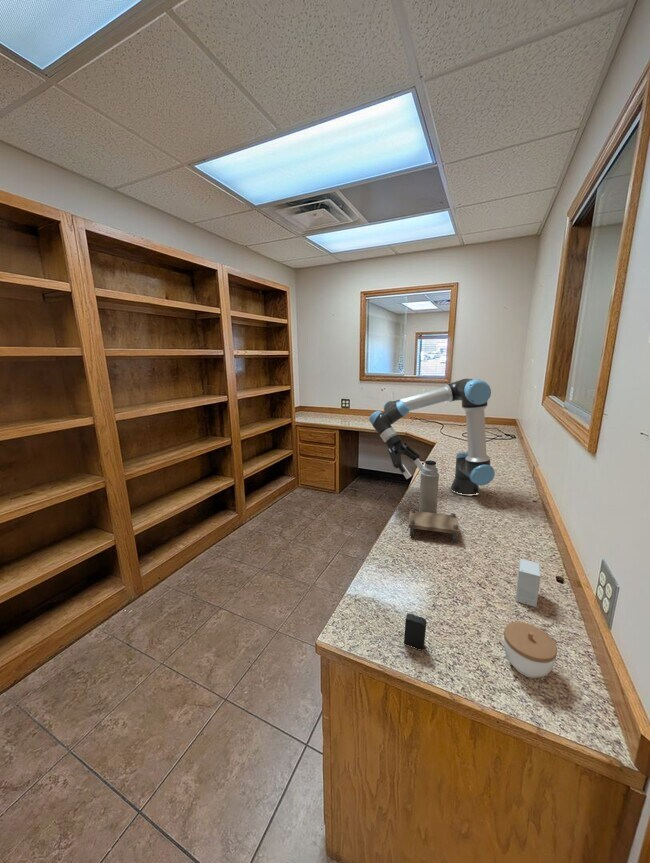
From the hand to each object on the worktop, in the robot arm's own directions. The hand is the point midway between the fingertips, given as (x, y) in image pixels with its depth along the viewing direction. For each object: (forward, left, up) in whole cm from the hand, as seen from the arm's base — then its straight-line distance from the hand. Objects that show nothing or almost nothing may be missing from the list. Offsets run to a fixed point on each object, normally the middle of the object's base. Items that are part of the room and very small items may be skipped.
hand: (416, 474), depth 155 cm
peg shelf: (-8, +16, -21) cm, 27 cm away
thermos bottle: (-6, +2, -21) cm, 22 cm away
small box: (-35, +50, -21) cm, 64 cm away
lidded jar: (-28, +77, -21) cm, 85 cm away
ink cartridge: (-2, +78, -21) cm, 81 cm away
